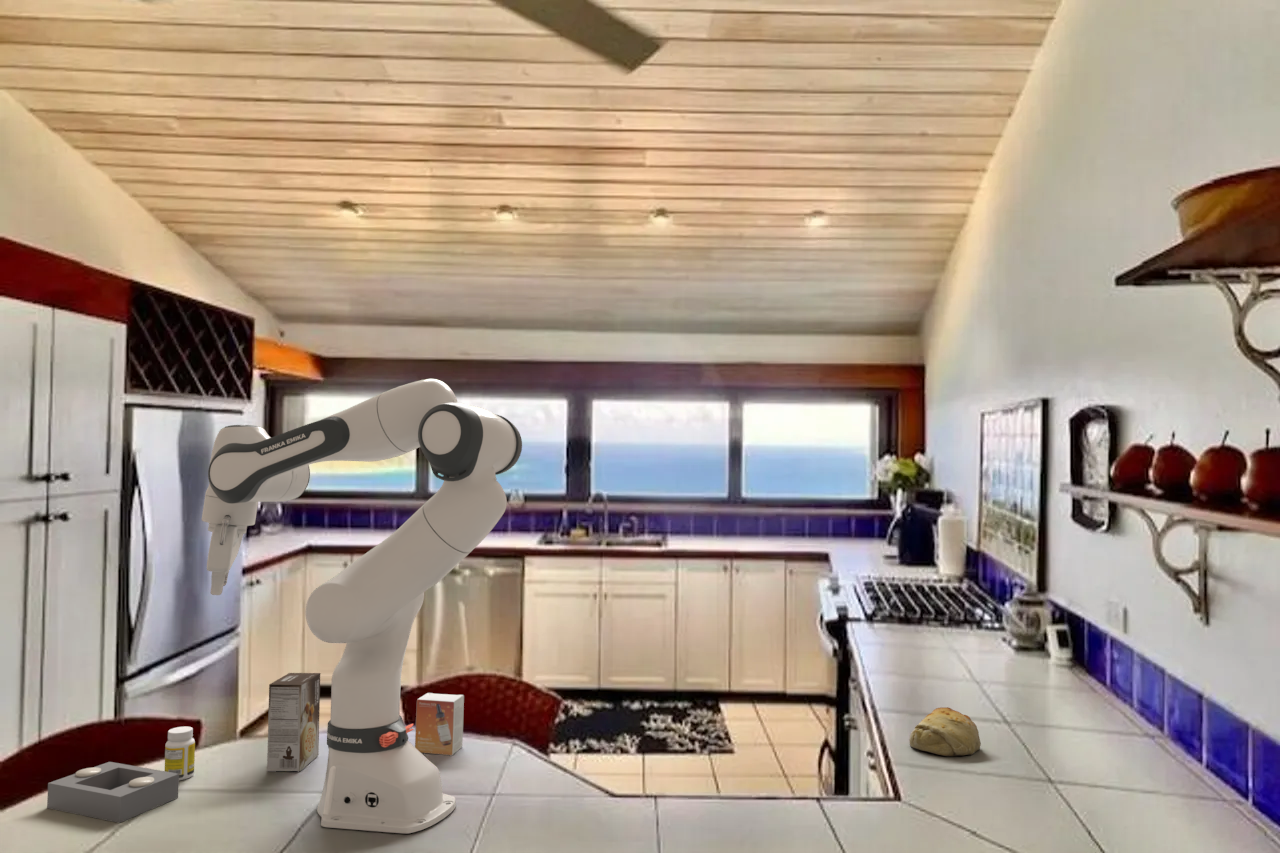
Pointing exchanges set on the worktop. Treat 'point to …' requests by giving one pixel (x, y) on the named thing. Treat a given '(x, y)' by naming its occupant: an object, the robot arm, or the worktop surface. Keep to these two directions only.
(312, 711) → the coffee box
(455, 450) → the robot arm
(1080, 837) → the worktop surface
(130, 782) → the housing
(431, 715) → the small box
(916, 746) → the pastry
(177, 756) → the supplement bottle
